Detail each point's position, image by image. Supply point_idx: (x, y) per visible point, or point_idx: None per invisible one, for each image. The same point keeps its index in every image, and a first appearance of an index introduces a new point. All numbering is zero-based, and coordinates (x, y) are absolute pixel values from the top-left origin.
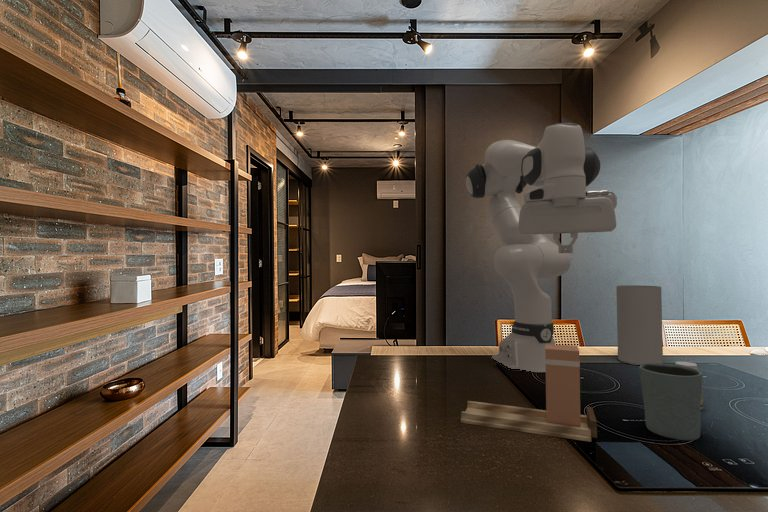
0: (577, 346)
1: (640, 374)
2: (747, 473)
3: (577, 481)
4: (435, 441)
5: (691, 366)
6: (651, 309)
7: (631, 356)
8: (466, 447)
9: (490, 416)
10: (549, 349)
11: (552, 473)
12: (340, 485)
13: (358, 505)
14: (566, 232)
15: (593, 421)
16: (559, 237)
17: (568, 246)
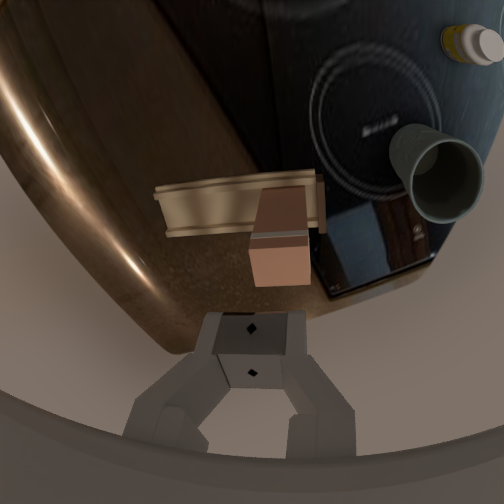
0: (308, 248)
1: (406, 178)
2: (440, 234)
3: (302, 298)
4: (175, 281)
5: (496, 61)
6: None
7: None
8: (204, 281)
9: (200, 234)
10: (262, 285)
11: (283, 294)
12: (165, 343)
13: (187, 352)
14: (241, 466)
15: (322, 232)
16: (207, 441)
17: (278, 380)
